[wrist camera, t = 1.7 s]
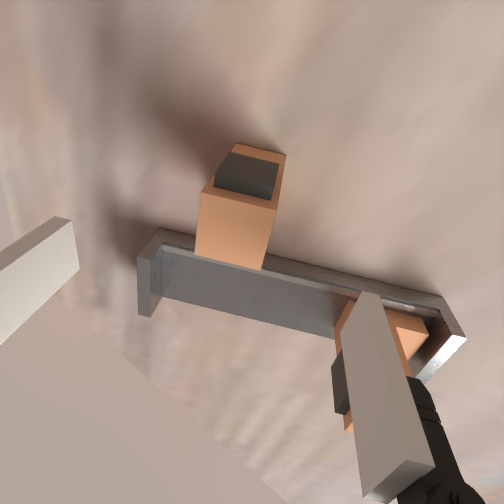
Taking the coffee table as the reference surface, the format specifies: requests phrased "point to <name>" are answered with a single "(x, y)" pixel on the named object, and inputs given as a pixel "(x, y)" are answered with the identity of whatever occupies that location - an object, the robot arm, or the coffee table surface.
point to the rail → (285, 295)
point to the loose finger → (240, 207)
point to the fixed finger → (407, 343)
